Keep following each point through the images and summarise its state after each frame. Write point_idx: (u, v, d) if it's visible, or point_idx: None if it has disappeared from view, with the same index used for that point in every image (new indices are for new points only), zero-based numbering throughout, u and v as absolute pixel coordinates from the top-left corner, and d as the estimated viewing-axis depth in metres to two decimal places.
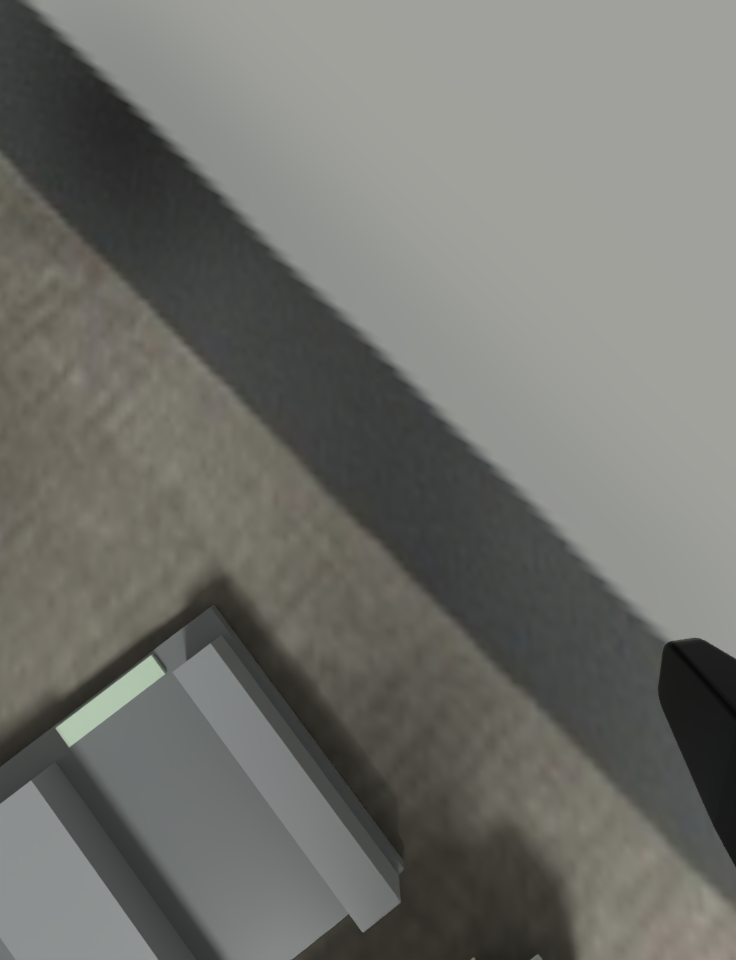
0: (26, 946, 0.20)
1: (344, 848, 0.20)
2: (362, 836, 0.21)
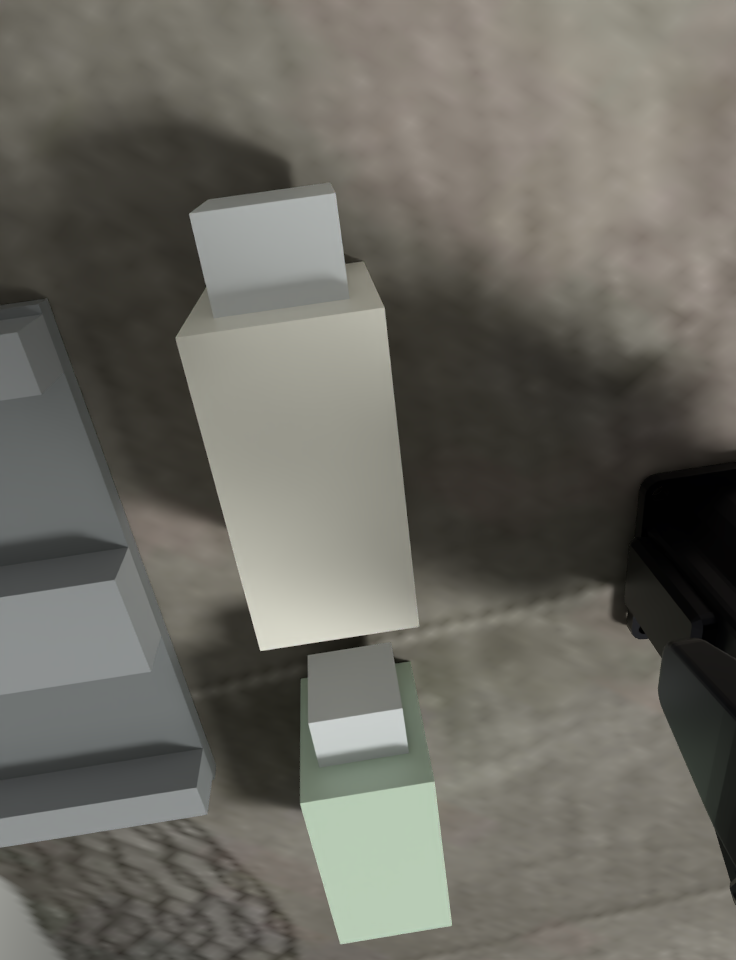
0: None
1: None
2: None
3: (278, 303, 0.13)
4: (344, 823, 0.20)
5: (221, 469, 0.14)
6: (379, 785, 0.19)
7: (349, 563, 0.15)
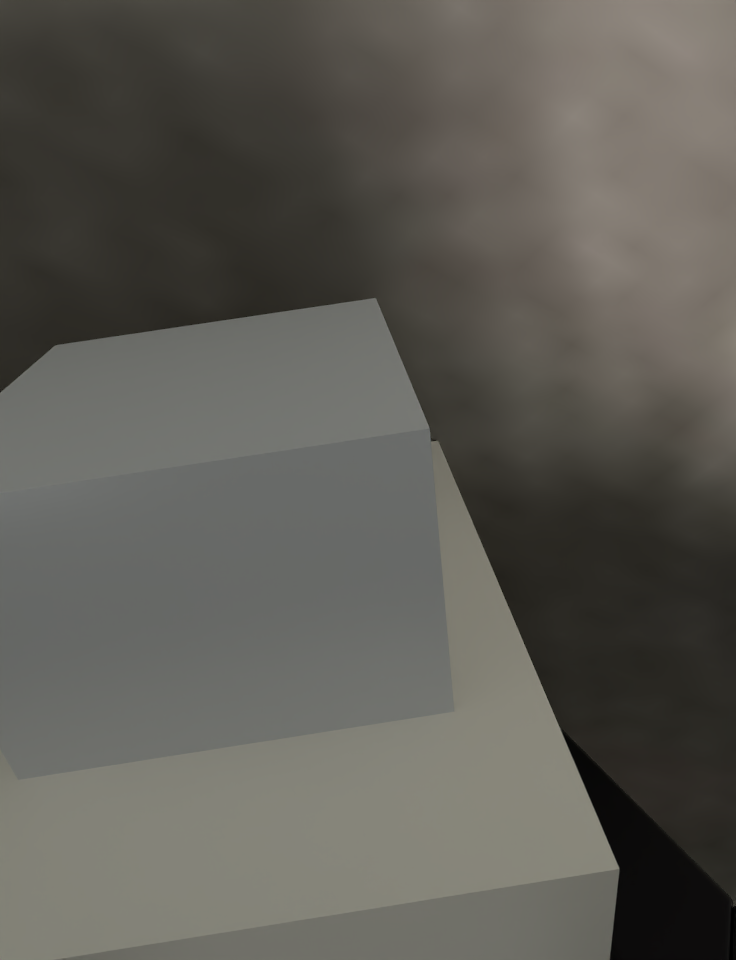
0: None
1: None
2: None
3: (225, 732, 0.04)
4: None
5: None
6: None
7: None
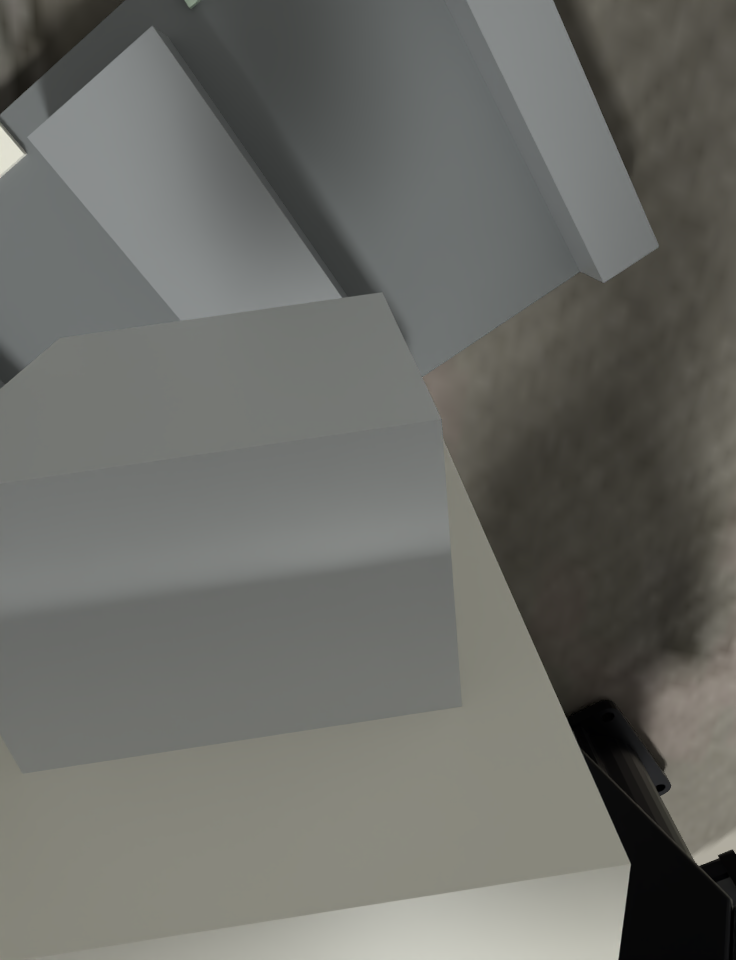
0: (175, 282, 0.15)
1: (603, 168, 0.15)
2: None
3: (231, 726, 0.04)
4: None
5: None
6: None
7: None
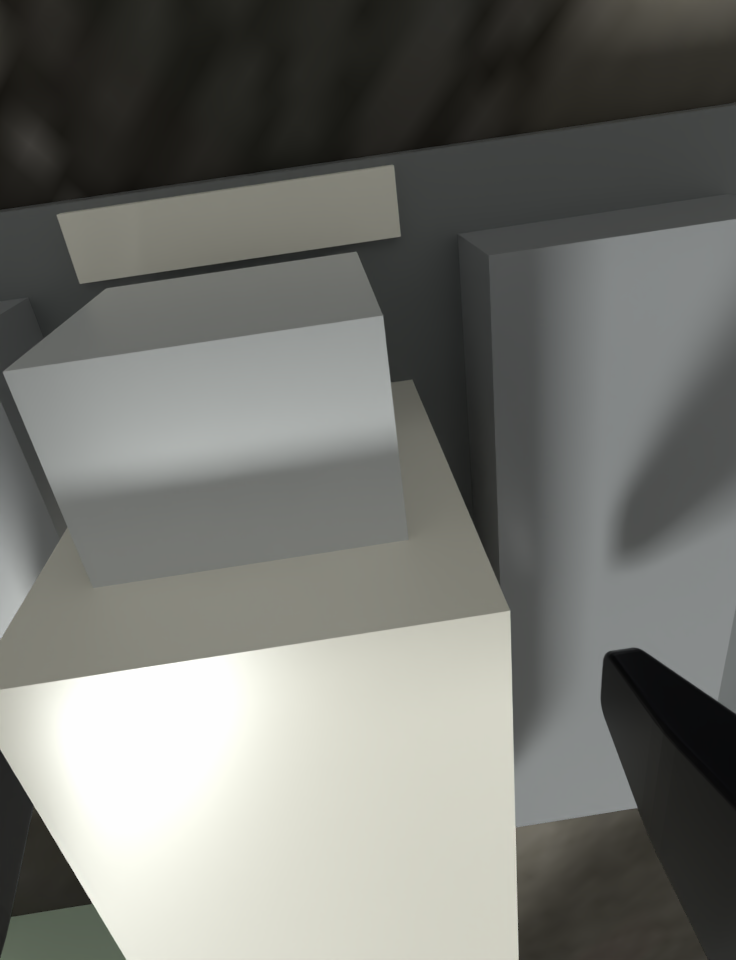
0: (536, 554, 0.09)
1: None
2: None
3: (243, 553, 0.06)
4: None
5: (119, 907, 0.06)
6: None
7: None
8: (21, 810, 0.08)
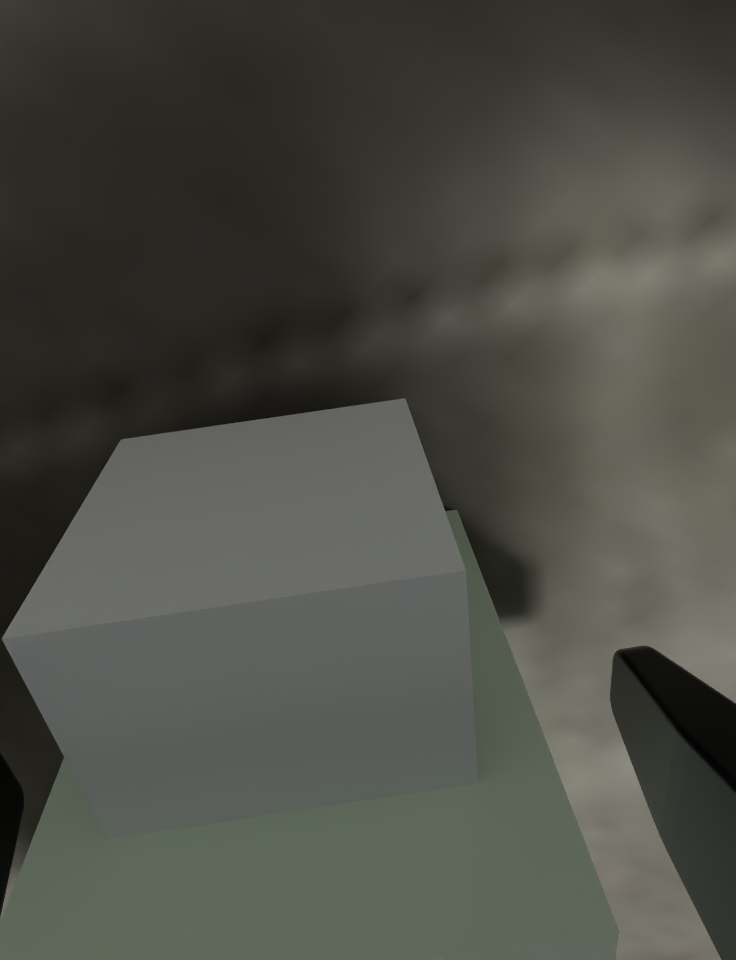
0: None
1: None
2: None
3: None
4: None
5: None
6: (351, 944, 0.04)
7: None
8: (11, 812, 0.08)
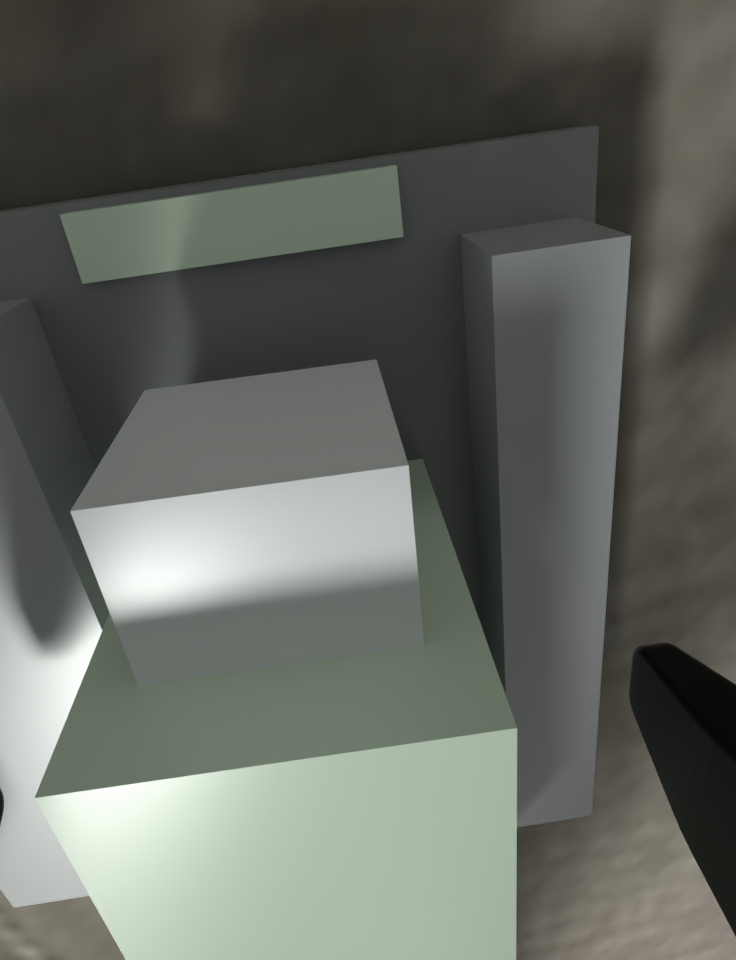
0: None
1: (572, 730, 0.11)
2: None
3: None
4: (209, 869, 0.06)
5: None
6: (324, 740, 0.05)
7: None
8: None
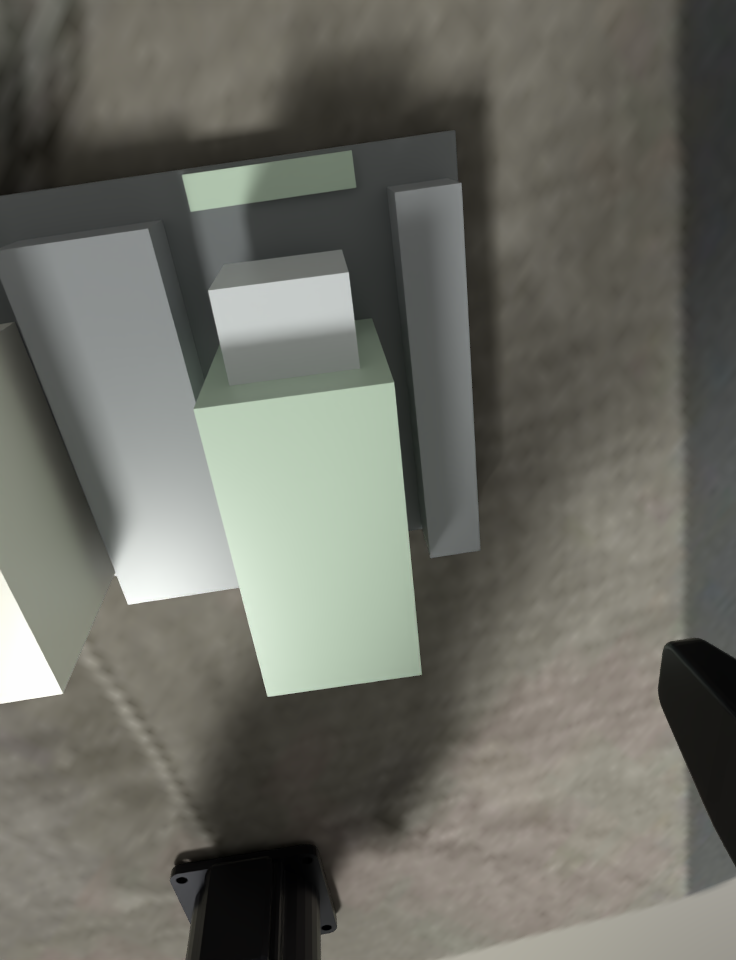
0: (74, 415, 0.16)
1: (461, 483, 0.18)
2: None
3: None
4: (263, 459, 0.13)
5: None
6: (313, 390, 0.13)
7: None
8: None
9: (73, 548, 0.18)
